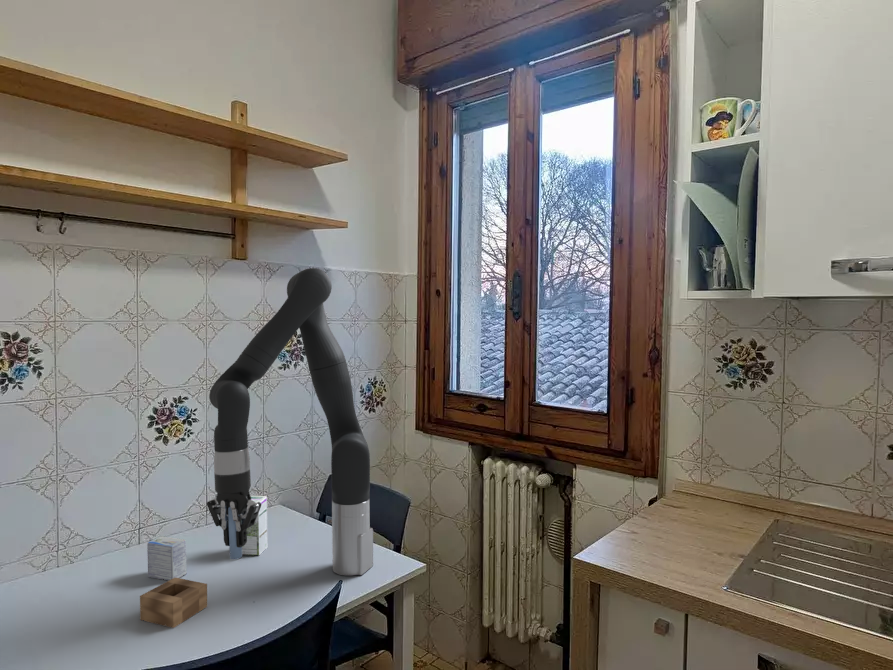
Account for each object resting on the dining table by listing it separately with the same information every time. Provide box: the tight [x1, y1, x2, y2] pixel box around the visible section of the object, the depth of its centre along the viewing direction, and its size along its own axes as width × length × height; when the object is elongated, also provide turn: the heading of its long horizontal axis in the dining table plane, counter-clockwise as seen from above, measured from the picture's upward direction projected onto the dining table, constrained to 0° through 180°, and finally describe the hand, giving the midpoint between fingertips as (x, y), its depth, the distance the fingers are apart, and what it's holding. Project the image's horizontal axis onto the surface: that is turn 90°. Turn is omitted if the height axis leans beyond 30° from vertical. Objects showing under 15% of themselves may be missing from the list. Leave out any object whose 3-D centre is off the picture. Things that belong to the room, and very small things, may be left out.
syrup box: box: [241, 495, 269, 556], centre depth 150 cm, size 6×6×14 cm
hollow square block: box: [139, 577, 208, 629], centre depth 118 cm, size 9×9×5 cm
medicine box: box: [146, 535, 187, 581], centre depth 136 cm, size 8×4×9 cm, turn 71°
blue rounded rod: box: [228, 507, 243, 560], centre depth 125 cm, size 3×3×12 cm
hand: (235, 545), depth 126 cm, fingers closed on blue rounded rod, 2 cm apart
